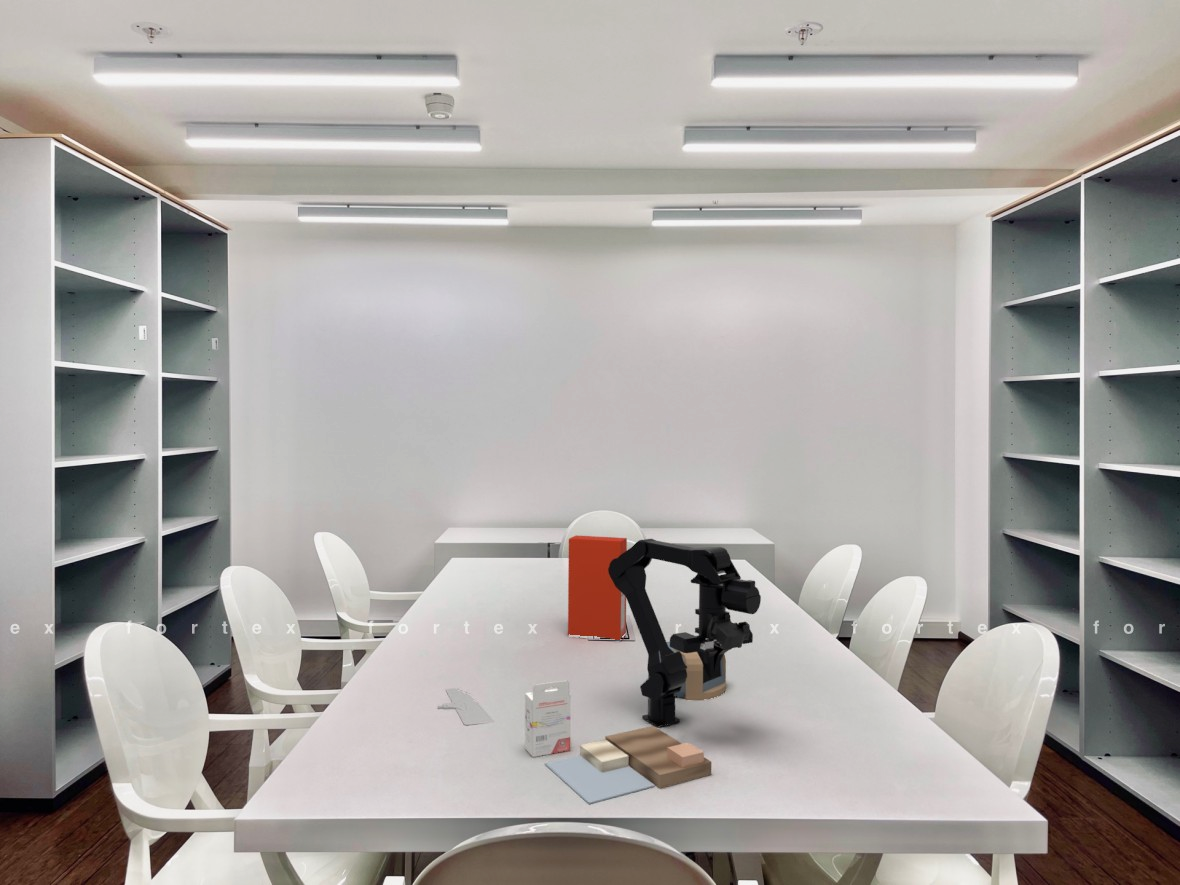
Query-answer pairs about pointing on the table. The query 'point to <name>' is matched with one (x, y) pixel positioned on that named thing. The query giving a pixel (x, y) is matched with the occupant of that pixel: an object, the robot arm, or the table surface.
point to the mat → (597, 779)
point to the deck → (656, 757)
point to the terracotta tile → (685, 755)
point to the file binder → (595, 588)
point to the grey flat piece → (466, 708)
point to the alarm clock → (701, 678)
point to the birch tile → (604, 755)
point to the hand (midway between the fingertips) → (711, 677)
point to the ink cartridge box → (547, 719)
